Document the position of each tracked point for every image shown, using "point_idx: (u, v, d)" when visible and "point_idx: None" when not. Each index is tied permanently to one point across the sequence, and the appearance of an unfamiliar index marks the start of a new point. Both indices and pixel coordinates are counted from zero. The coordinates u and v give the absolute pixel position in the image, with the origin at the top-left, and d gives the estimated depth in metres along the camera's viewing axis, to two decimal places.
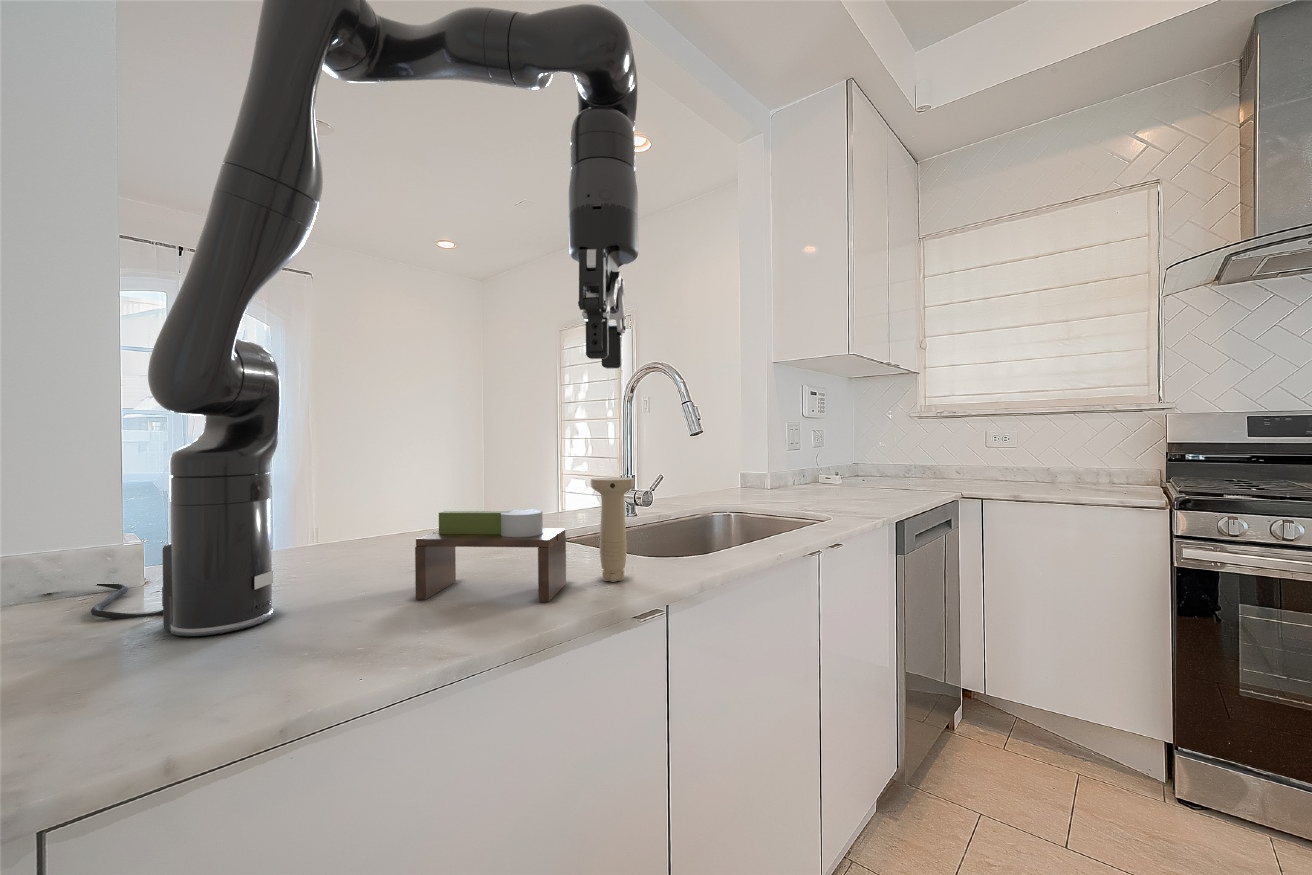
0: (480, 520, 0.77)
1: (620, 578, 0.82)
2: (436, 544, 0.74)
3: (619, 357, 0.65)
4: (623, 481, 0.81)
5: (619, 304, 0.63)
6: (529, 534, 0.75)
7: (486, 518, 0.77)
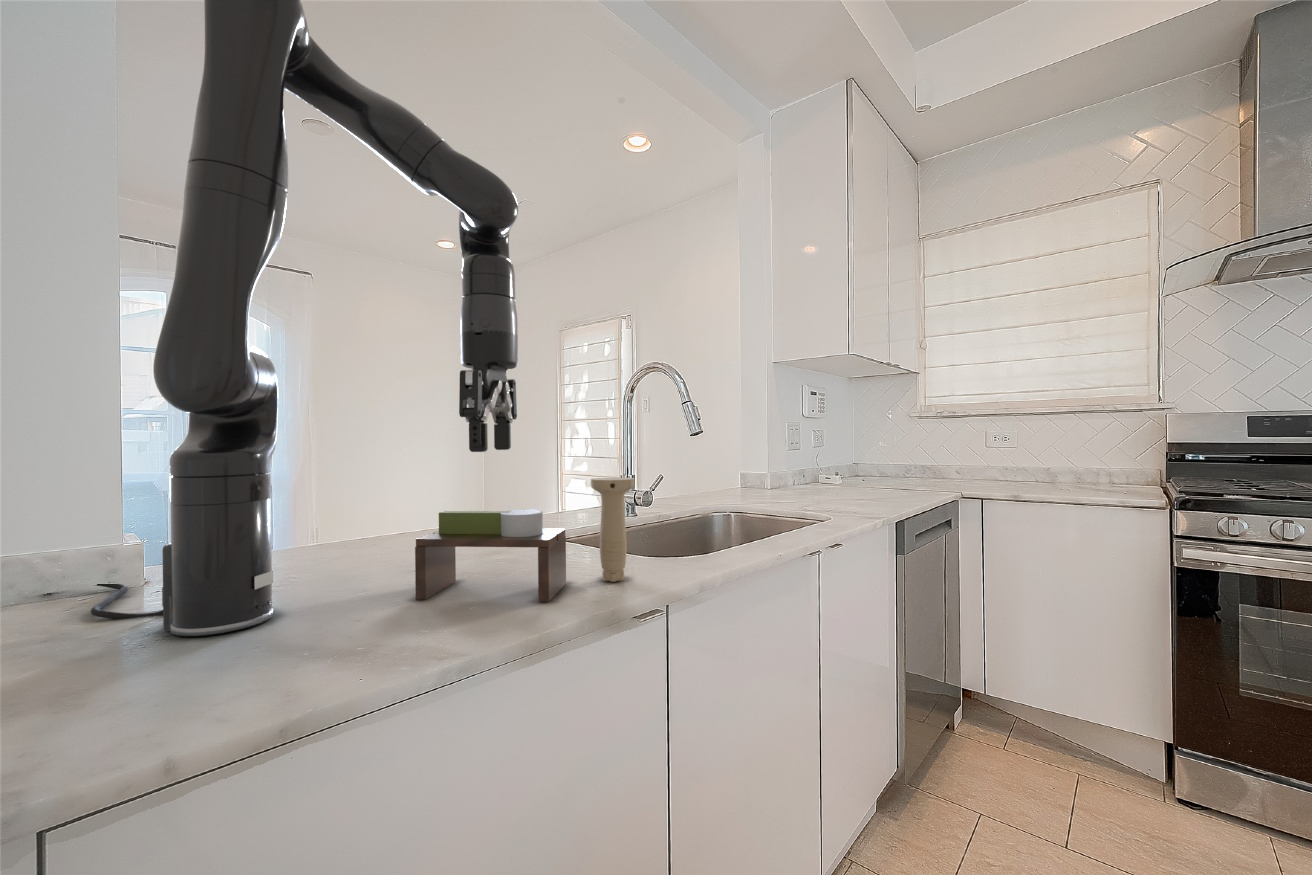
0: (480, 520, 0.77)
1: (620, 578, 0.82)
2: (436, 544, 0.74)
3: (508, 441, 0.81)
4: (623, 481, 0.81)
5: (505, 401, 0.79)
6: (529, 534, 0.75)
7: (486, 518, 0.77)
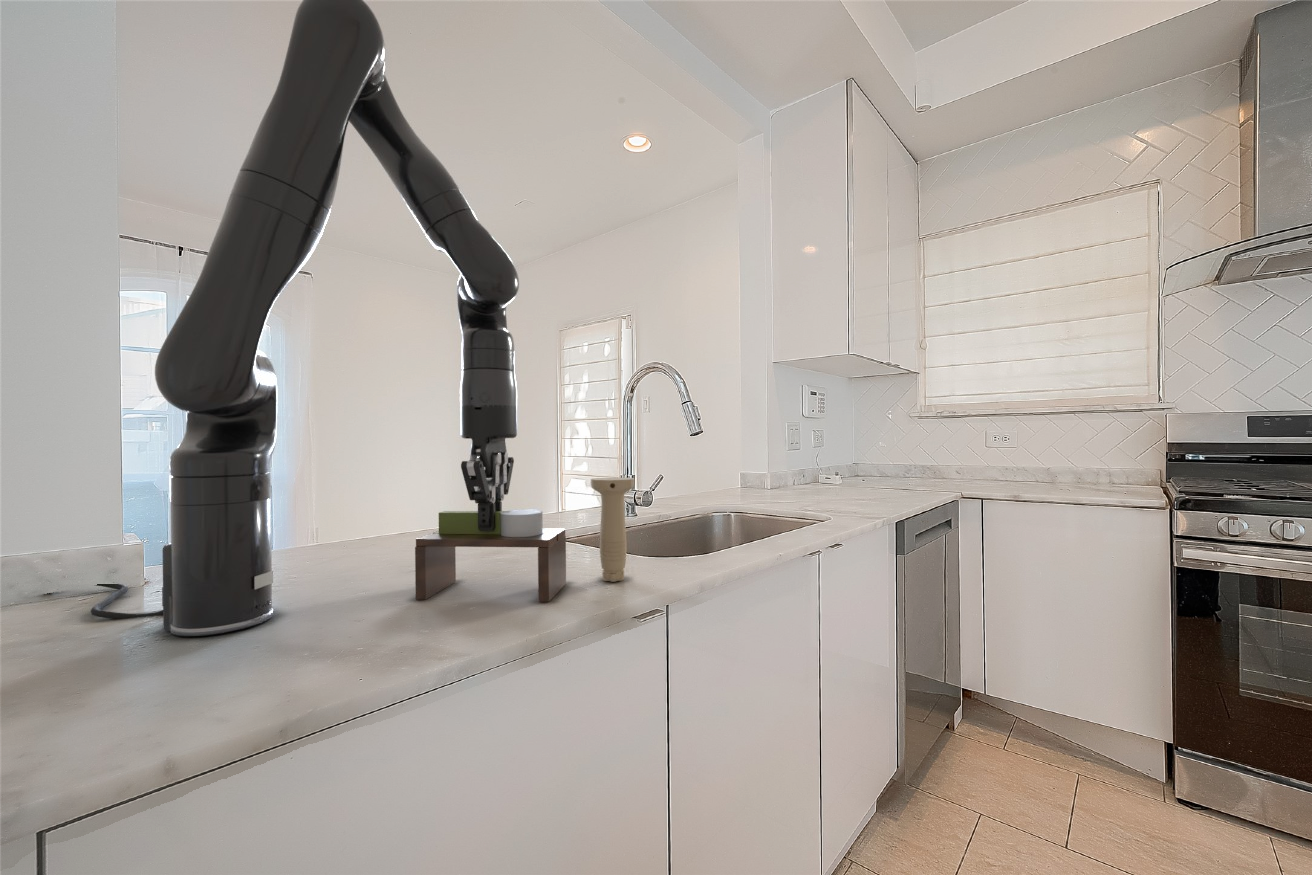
0: None
1: (620, 578, 0.82)
2: (436, 544, 0.74)
3: None
4: (623, 481, 0.81)
5: (500, 471, 0.78)
6: (529, 534, 0.75)
7: None
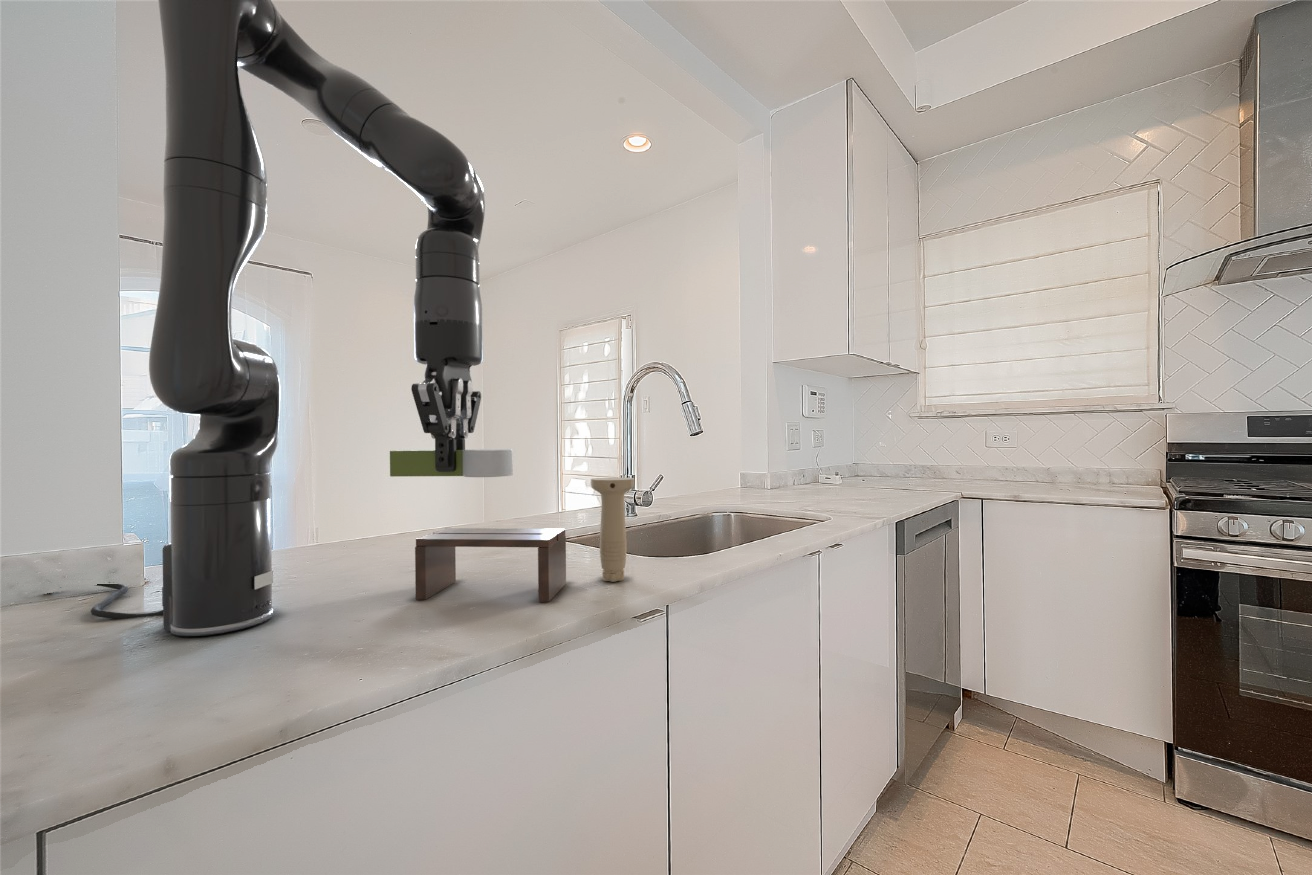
0: None
1: (620, 578, 0.82)
2: (436, 544, 0.74)
3: None
4: (623, 481, 0.81)
5: (463, 403, 0.66)
6: (495, 474, 0.63)
7: None
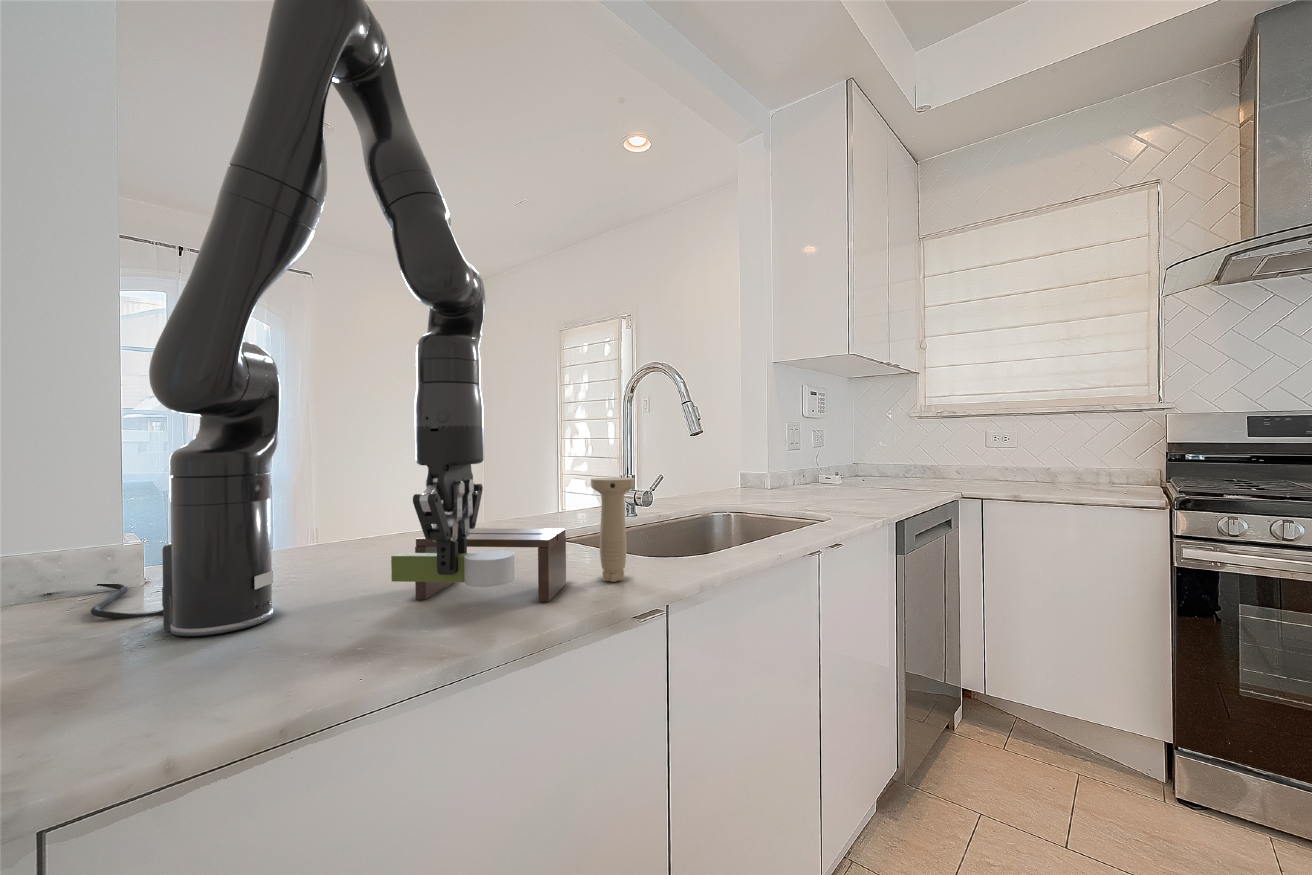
0: None
1: (620, 578, 0.82)
2: (436, 544, 0.74)
3: None
4: (623, 481, 0.81)
5: (464, 502, 0.66)
6: (497, 583, 0.63)
7: None
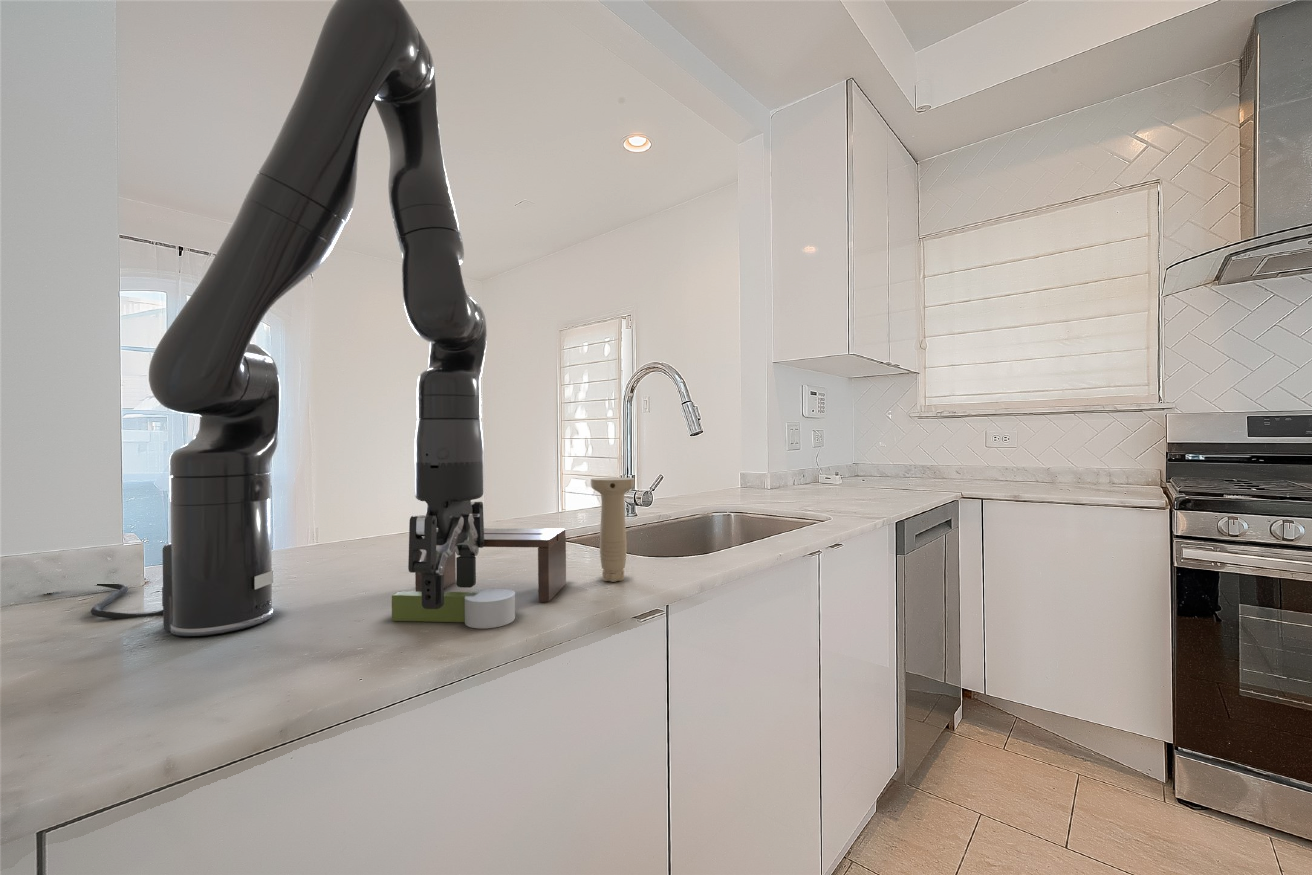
0: None
1: (620, 578, 0.82)
2: None
3: (472, 577, 0.69)
4: (623, 481, 0.81)
5: (468, 534, 0.67)
6: (498, 624, 0.63)
7: (447, 602, 0.65)
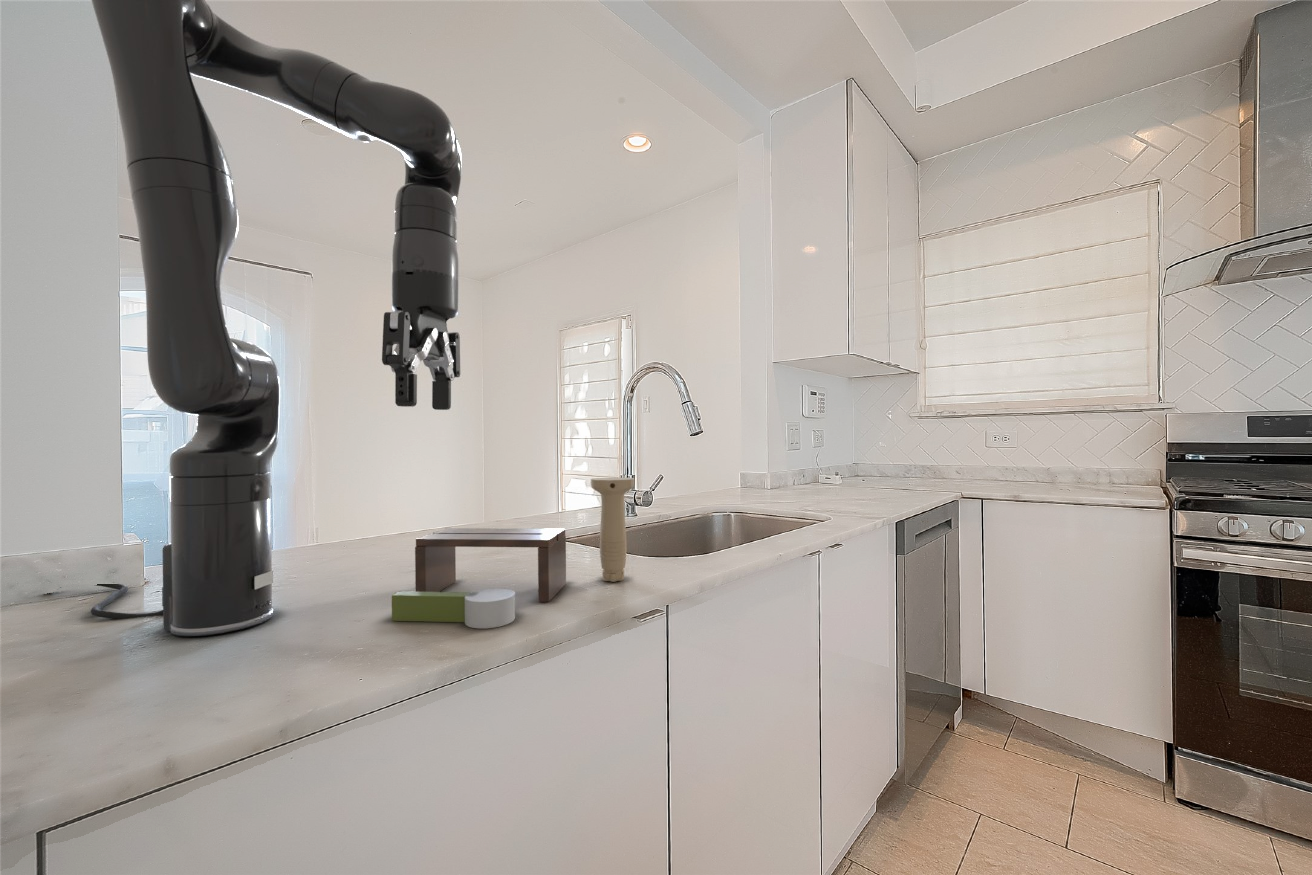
0: (440, 605, 0.65)
1: (620, 578, 0.82)
2: (436, 544, 0.74)
3: (447, 400, 0.72)
4: (623, 481, 0.81)
5: (443, 354, 0.70)
6: (498, 624, 0.63)
7: (447, 602, 0.65)
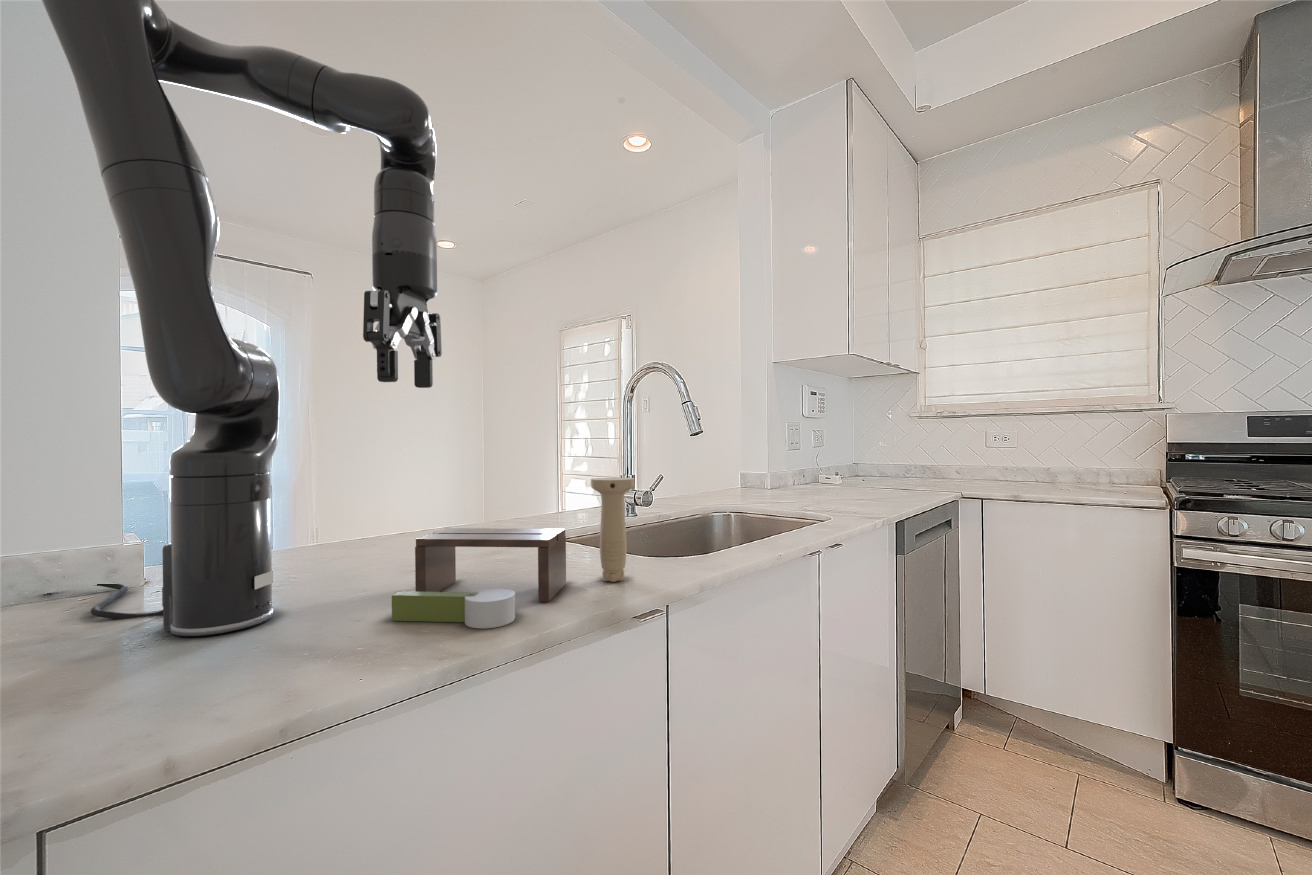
0: (440, 605, 0.65)
1: (620, 578, 0.82)
2: (436, 544, 0.74)
3: (429, 378, 0.75)
4: (623, 481, 0.81)
5: (423, 333, 0.73)
6: (498, 624, 0.63)
7: (447, 602, 0.65)
